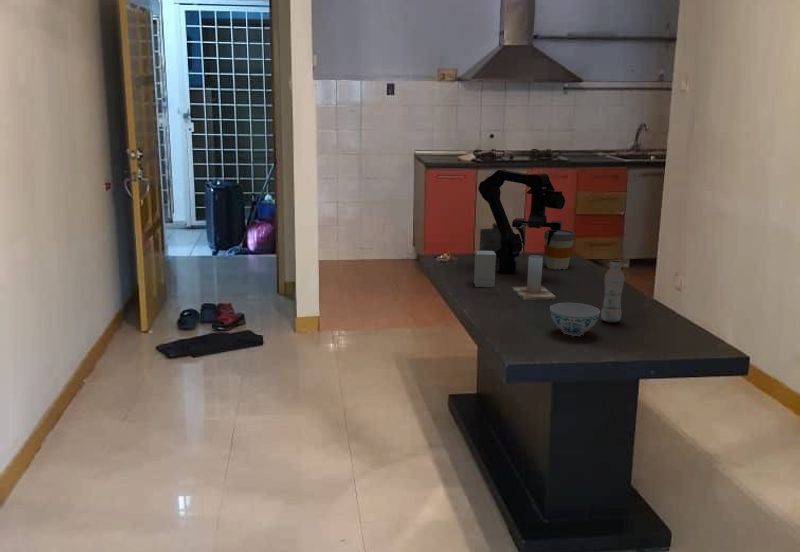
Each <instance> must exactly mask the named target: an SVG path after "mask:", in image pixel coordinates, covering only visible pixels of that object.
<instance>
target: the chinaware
mask: <svg viewBox="0 0 800 552" xmlns="http://www.w3.org/2000/svg"><path fill="white" fill-rule="evenodd" d="M549 313H550V315H551V319H552V321H553V323H554V324H555V326H556V327H557V328H558V329H560V330H561V333H562V332H563V333H564V334H563V333H562V334H563V335H565V334H568V335H572V336H571V337H574V336H578V337H582V336H581V335H583V336H584V335H585V332H588V331H589V330H591V329H592V328H593V327H594V326H595V325H596V323H597V322H598V320H599V317H600V315H601V310H600V309H599V308H598V307H596V306H593V305H590V304H586V303H577V302H559V303H554V304H552V305H550V306H549Z"/></svg>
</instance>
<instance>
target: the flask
mask: <svg viewBox="0 0 800 552" xmlns="http://www.w3.org/2000/svg"><path fill="white" fill-rule="evenodd" d="M511 229H512V231H513V232H514V228H513V227H511ZM479 230H480V231H479V250H478V251H494V252H495V254H496V252H497V251H498V250H499V249H500V248H501V244H500V240H501V234H500V232H499V229H498V226H497V224H496V222H493V223H492V228H490V227H489V228H480V229H479ZM495 266H496V267H499V258H497V256H496V264H495Z"/></svg>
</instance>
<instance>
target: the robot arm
mask: <svg viewBox="0 0 800 552" xmlns="http://www.w3.org/2000/svg"><path fill="white" fill-rule="evenodd" d="M506 181H507V182H510V183H511V182H512V183H518V184H523V185H526V187H528V188H529V190H527V191H526V194H529V195H531V196H530V210H529V211H530V213H529V216H528V219H527V220H525V218H521V217H520V218H519V217H516V218H514V219H513V220H512V222H511V224H510V222H509V219H508V217H507V213H506V212H505V208H504V206H503V204H502V201H501V195H502V193H501V188H502V186H503V185H504V183H505V182H506ZM477 188H478V189H477V190H478V192H479V194H480V195H481V197H482V198H483V200H485V202H487V204H488V205H489V208H490V211H491V214H492V216H493V218H494V221H495V223H496V224H497V226H498V229H499V232H500V234H501V240H500V244H501V248H500V249H499V250H498V251H497V252H496V256H497V258H499V266H498V270H497V273H499V274H509V275H514V274H515V273H516V272H517V267H518V261H517V257H519V256H520V253H521V252H522V250H523V248H524V246H526V226H527V227H528V228H530V229H532V228H535V229H541V228H550V229H548V230H549V236H548V241H547V247H548V246H549V244H550V241H551V239H552V236H553V234H554V233H555V232H557V231H558V230H563V222H562V220H551V221H549V222H548V219H547V218H548V217H547V215H546V208H548V209H554V210H562V209H563V208H564V207H565V204H566V199H565V196H564V194H563V191H562V190H558V191H557V190H555V187H554V185H553V184H552V182H551V180H550V176H549V174H547V173H524V172H520V171H514V170H507V169H496V171H495V172H493V173H492V174H491V175H490V176H488V177H486V178H485V179H484V180H483V181H480V182H479V185H478V187H477ZM511 228H512V229H513V228H514V229H515V230H517V231H518V232H519V233H515V232H514V230H513V231H512V229H511Z"/></svg>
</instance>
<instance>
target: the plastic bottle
mask: <svg viewBox="0 0 800 552" xmlns="http://www.w3.org/2000/svg"><path fill="white" fill-rule="evenodd" d="M608 268H609V269H608V270H607V271H606V272H605V274H604V277H603V279H604V281H603V282H604V283H603V284H604V296H603V302H602V308H601V310H600V317H601V319H602V321H604V322H607V323H618V322H619V321H620V320H621V318H622V308H621V307H622V292H623V288H624V283H625V278H626V277H625V275H624V272H623V270H622V269H621V268H622V261H620V260H613V259H612V260H610V261H609V265H608Z"/></svg>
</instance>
